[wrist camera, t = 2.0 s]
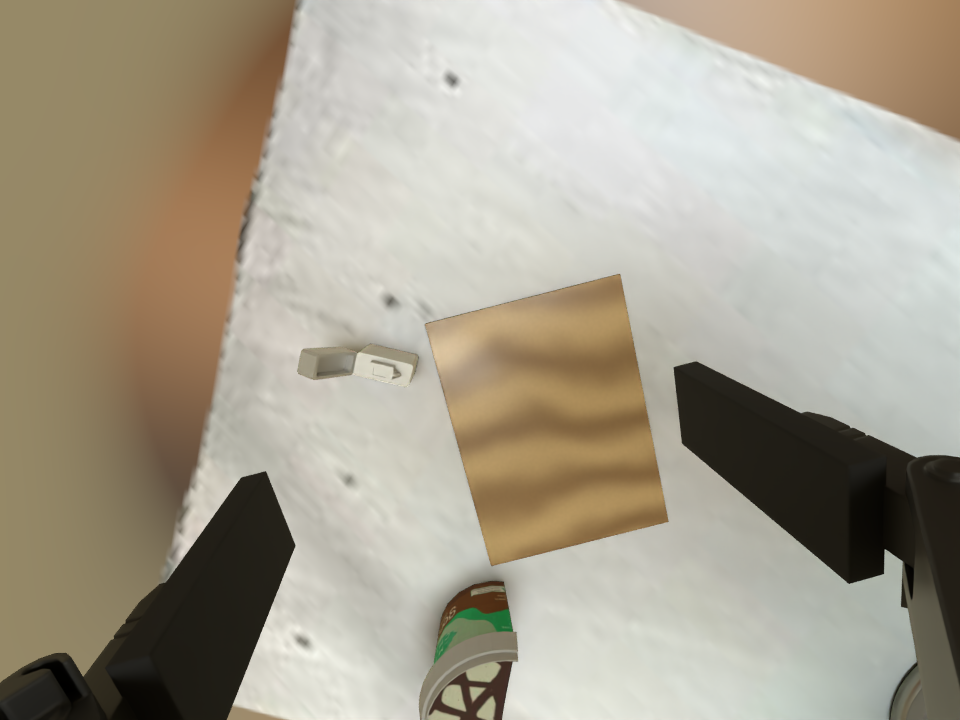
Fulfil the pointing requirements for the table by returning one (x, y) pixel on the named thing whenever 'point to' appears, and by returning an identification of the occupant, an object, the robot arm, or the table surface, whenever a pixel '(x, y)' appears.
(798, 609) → the table surface
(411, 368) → the lighter
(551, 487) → the wooden board
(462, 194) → the table surface
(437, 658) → the food container
